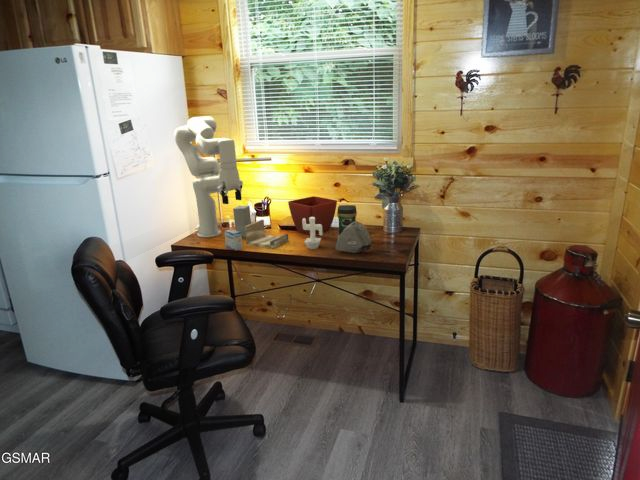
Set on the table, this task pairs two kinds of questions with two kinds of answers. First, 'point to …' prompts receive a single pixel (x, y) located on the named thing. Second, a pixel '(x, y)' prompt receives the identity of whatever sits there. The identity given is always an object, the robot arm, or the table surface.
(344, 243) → the decorative rock
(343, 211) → the coffee jar
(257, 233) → the grey angle bracket
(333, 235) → the table surface
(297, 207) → the plant pot
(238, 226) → the skincare box
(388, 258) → the table surface
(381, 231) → the table surface
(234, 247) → the medicine box
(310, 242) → the figurine
